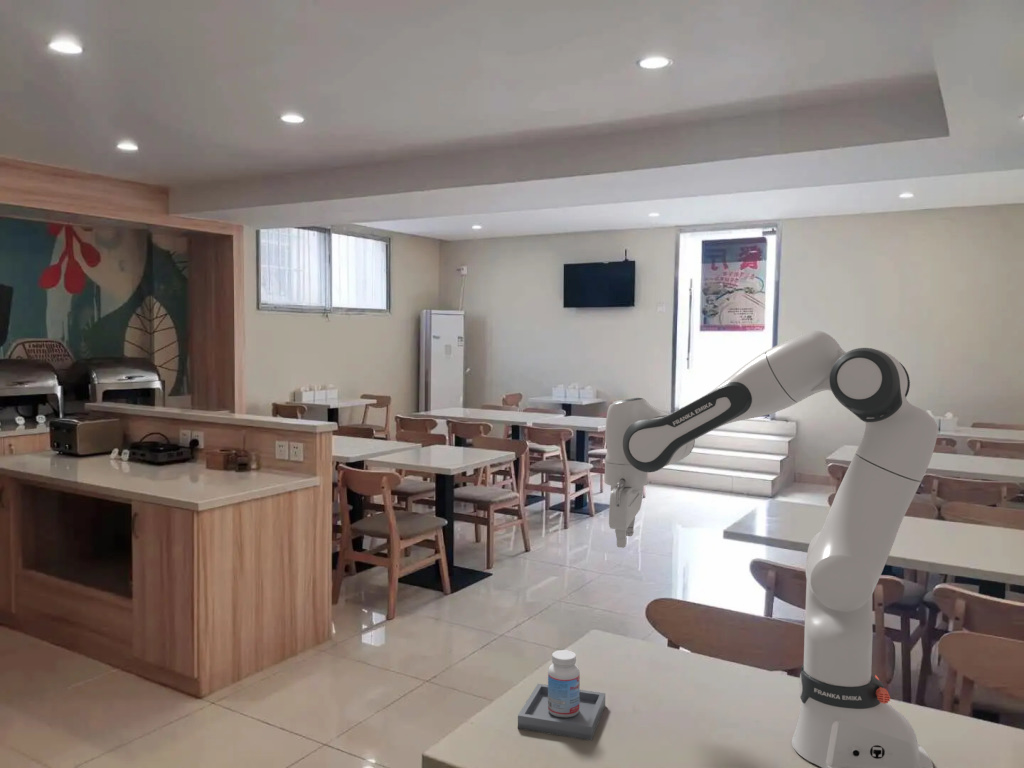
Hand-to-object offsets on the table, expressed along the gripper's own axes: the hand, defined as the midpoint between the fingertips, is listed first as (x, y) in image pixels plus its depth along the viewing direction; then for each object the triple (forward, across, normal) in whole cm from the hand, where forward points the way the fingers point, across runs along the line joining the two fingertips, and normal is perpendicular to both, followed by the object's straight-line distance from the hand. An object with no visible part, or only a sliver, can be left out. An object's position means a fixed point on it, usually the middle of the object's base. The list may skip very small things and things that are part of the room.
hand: (625, 540), depth 159 cm
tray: (+31, -17, +9) cm, 37 cm away
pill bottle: (+30, -17, +9) cm, 36 cm away
